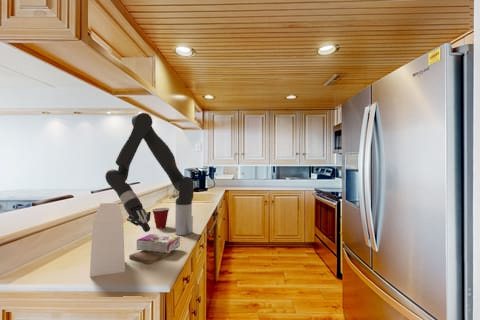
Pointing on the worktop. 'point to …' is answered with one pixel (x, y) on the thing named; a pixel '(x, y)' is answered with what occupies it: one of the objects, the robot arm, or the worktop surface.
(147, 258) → the board
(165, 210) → the plastic cup
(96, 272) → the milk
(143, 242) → the candy bar box
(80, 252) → the worktop surface
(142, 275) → the worktop surface
